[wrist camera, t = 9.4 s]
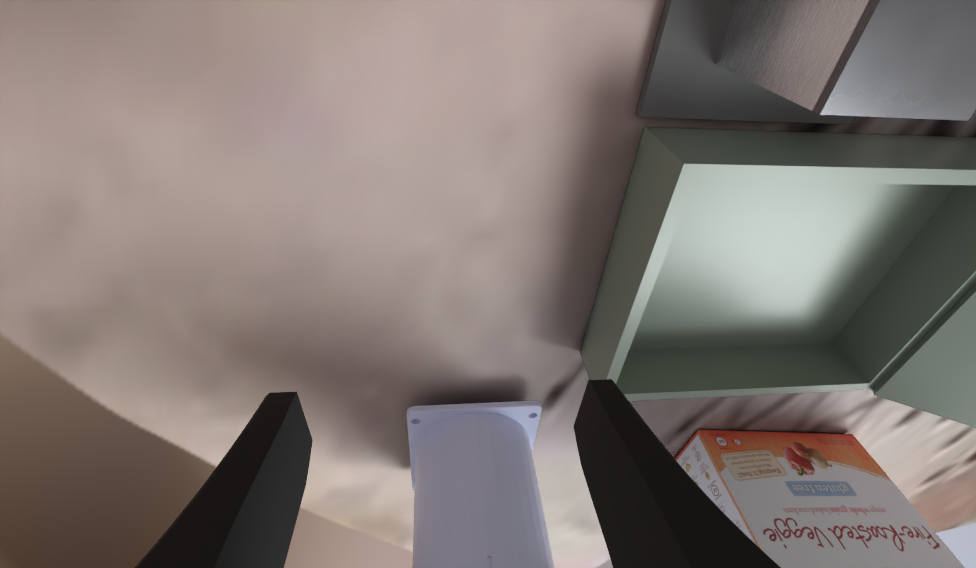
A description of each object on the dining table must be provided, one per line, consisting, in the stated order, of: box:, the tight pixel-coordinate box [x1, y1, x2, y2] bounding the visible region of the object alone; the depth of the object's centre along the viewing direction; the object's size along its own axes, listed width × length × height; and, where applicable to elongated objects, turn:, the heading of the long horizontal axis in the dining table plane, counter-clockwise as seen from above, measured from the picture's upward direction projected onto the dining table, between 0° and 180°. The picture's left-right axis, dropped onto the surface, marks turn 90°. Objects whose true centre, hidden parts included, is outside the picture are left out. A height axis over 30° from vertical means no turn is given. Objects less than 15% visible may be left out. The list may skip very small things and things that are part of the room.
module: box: [715, 0, 976, 121], centre depth 13 cm, size 4×4×6 cm
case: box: [580, 127, 976, 428], centre depth 19 cm, size 13×29×11 cm, turn 86°
